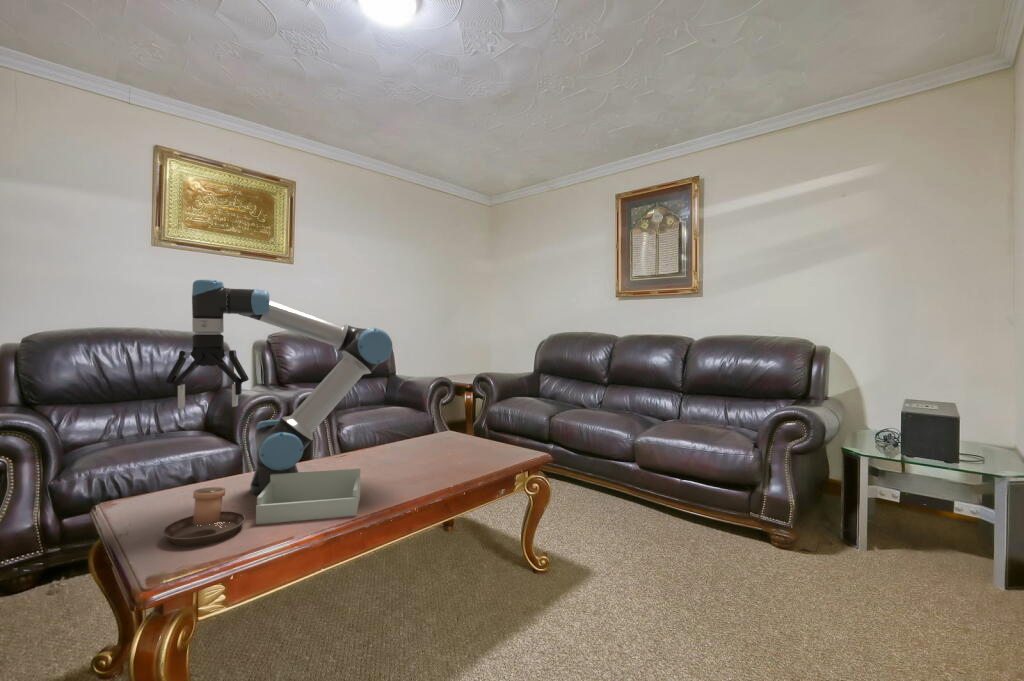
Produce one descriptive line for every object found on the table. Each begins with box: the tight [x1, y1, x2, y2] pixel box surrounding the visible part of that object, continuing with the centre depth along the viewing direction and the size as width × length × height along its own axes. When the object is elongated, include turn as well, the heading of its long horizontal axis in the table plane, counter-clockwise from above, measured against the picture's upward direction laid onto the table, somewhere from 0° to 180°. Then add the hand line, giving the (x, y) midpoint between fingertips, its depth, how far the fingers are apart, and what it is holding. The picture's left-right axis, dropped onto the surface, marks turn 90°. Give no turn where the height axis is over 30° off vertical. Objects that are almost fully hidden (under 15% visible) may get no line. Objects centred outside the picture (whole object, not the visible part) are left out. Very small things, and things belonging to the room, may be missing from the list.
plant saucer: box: [162, 510, 246, 547], centre depth 119 cm, size 18×18×3 cm
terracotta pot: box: [192, 486, 226, 525], centre depth 119 cm, size 7×7×8 cm
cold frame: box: [255, 468, 361, 525], centre depth 135 cm, size 16×26×9 cm, turn 105°
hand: (208, 407), depth 133 cm, fingers open, 13 cm apart
